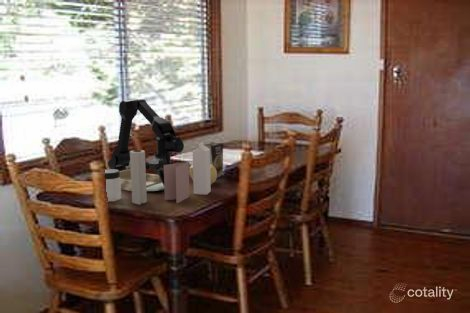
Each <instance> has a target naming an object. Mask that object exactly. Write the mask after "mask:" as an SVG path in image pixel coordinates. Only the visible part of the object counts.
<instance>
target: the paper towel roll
mask: <svg viewBox="0 0 470 313" xmlns="http://www.w3.org/2000/svg"><path fill="white" fill-rule="evenodd" d="M129 151H130V162H129V166H130V168H131V189H132V191H131V203H132V204H135V205H139V206H141V204H145V203H147V202H148V200H147V199H148V197H147V196H148V194H147V192H148V191H146V174H147V173H146V172H147V171H146V170H147V169H146V167H145V162H146V152H145V150H143V149H134V150H129Z"/></svg>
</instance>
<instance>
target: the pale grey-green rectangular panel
mask: <svg viewBox="0 0 470 313" xmlns="http://www.w3.org/2000/svg"><path fill="white" fill-rule="evenodd" d="M155 191H156V192H157V191H165V189H164V185H163V183H162V182H160V183H159V184H156V185H153V186H150V187H147V188H146V192H155Z"/></svg>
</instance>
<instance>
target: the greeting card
mask: <svg viewBox="0 0 470 313" xmlns="http://www.w3.org/2000/svg"><path fill="white" fill-rule="evenodd" d="M188 198H190V166H189V161H186V162H185V161H184V162H178V163H177V164H176V163H173V164H169V165H164V201H172V200H176V204H178V203H180V202H183V201H184V200H186V199H188Z"/></svg>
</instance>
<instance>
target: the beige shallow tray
mask: <svg viewBox="0 0 470 313" xmlns="http://www.w3.org/2000/svg"><path fill="white" fill-rule="evenodd" d="M119 173H120V180H121V191H122V190H123V191H129V192H132V189H131V167H130V168H128V169H127V168H126V170H123V171H119ZM159 183H161V182H160V176H159V174H154V173H146V188H147V187H150V186H153V185H156V184H159Z"/></svg>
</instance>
